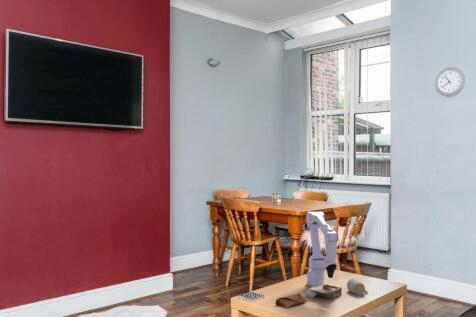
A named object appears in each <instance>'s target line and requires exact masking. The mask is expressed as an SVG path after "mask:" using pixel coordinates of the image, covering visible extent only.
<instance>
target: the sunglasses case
mask: <svg viewBox="0 0 476 317" xmlns="http://www.w3.org/2000/svg"><path fill="white" fill-rule="evenodd" d="M308 302H309V301H308V300H307V299H306V297H304V296H303V295H302V294H301V292H298V293H295V294H290V295H288V296H283V297H278V298H277V299H276V300H275V306H278V307H281V308H284V309H286V310H289V309H291V308H293V307H294V308H295V307H297V306H300V305H305V304H306V303H308Z"/></svg>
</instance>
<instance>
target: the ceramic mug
mask: <svg viewBox="0 0 476 317" xmlns="http://www.w3.org/2000/svg"><path fill="white" fill-rule="evenodd" d="M346 289H347V290H348V291H349V292H350V293H352V294H354V295H356V296H360V295H363V294H368V290H367V289H366V286H365V285H364V283H362V282H361V281H359V280H358V279H356V278H350V279H348V281H347V282H346Z"/></svg>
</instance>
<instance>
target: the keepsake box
mask: <svg viewBox="0 0 476 317" xmlns="http://www.w3.org/2000/svg"><path fill="white" fill-rule="evenodd" d="M328 285H329V287H330V288H335V289H337V290H336V291H334V292H332V293H330V294H329V295H328V294H323V293H319V294H318V295H317V296H319V297H324V298H328V299H333V300H334V299H336V298H338V297H340V296H341V295H343V293H342V291H343V289H342V287H340V286H335V285H332V284H328Z"/></svg>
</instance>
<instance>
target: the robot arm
mask: <svg viewBox="0 0 476 317" xmlns="http://www.w3.org/2000/svg"><path fill="white" fill-rule="evenodd" d="M305 219H306V226H307V227H309V232H310V233H309V234H310V240H311V249H312V250H311V251H312V255H310V257H309V258H308V268H309V269H308V271H307V274H306V285H307V286H308V285H309V286H311V287H317V286H319V285H321V286H323V285H324V284H325V283H324V282H325V276H324V274H325V272H326V273H327V278H330V279H332V278H333V277H334V273H335V270H336V268H337V267H338V265H337V264H338V263H339V259H338V258H337V242H338V241H339V234H338V232H337V231H336V230H334V229H332V226H330V224H329V223H327V222H326V220H325V213H324V212H323V211H308V212H307V213H306V215H305ZM319 227H320V231H321V232H322V234H323V236H324V237H323V239H324V245H325V255H323V253H322V250H321V244H320V236H319Z"/></svg>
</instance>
